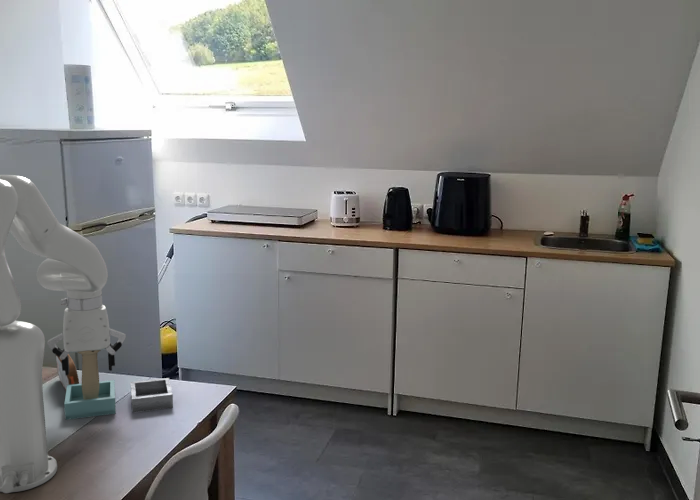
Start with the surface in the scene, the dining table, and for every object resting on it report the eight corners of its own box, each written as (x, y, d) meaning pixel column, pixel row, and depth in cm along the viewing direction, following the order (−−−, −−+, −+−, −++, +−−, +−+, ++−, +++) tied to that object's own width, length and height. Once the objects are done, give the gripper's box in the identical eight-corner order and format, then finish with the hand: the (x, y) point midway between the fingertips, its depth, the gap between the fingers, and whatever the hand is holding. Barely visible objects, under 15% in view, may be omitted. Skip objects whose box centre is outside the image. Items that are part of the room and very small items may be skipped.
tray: (115, 413, 154) (114, 398, 153) (65, 419, 150) (64, 403, 149) (115, 394, 164) (114, 379, 163) (68, 400, 160) (67, 385, 159)
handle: (74, 402, 156) (72, 343, 154) (100, 396, 161) (99, 339, 158) (80, 409, 153) (78, 349, 150) (107, 403, 157) (106, 344, 154)
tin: (81, 396, 163) (79, 364, 161) (67, 399, 161) (65, 367, 159) (68, 375, 175) (66, 346, 173) (55, 378, 173) (53, 348, 171)
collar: (173, 407, 158) (172, 394, 157) (132, 412, 155) (131, 399, 154) (169, 390, 167) (168, 377, 167) (131, 395, 164) (130, 382, 163)
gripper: (43, 309, 145) (48, 381, 149) (124, 304, 151) (127, 372, 155) (46, 300, 152) (51, 369, 156) (123, 295, 158) (126, 361, 162)
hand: (89, 370), depth 155 cm, fingers open, 9 cm apart
